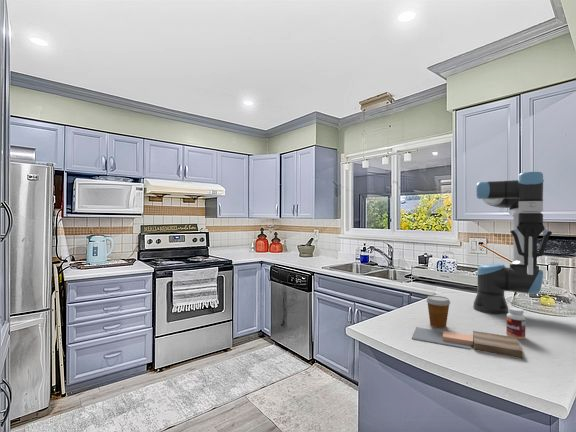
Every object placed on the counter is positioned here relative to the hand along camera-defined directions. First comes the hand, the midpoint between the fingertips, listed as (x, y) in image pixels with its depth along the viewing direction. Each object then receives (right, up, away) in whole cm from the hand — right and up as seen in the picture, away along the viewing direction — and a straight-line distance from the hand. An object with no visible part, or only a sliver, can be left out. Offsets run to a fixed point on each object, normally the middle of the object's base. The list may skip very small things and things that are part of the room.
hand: (530, 274), depth 123 cm
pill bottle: (-2, -26, +5) cm, 26 cm away
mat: (-33, -26, +3) cm, 42 cm away
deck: (-17, -26, -6) cm, 31 cm away
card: (-28, -25, 0) cm, 37 cm away
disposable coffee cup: (-27, -26, +17) cm, 41 cm away
